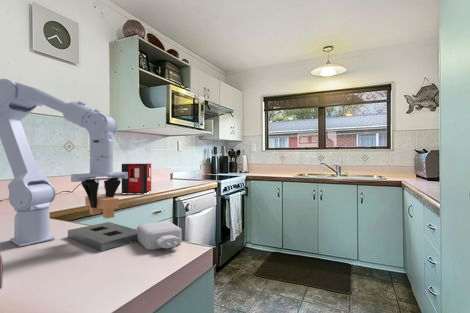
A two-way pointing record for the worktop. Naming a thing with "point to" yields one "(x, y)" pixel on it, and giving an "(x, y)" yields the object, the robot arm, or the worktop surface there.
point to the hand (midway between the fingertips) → (101, 206)
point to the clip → (104, 205)
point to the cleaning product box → (137, 178)
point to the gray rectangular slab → (103, 235)
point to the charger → (159, 235)
